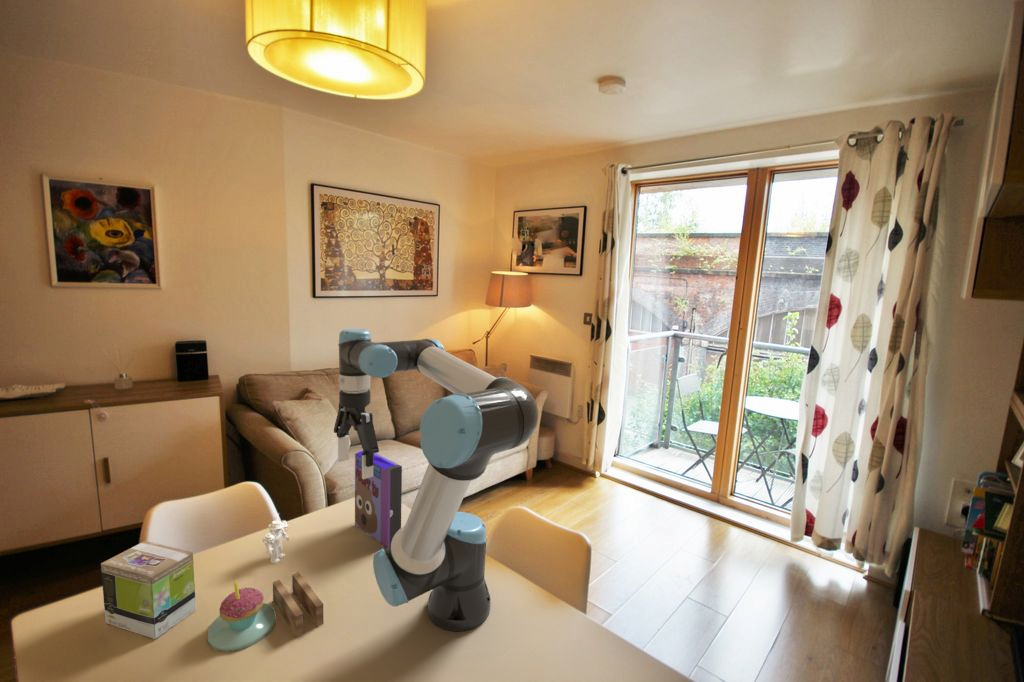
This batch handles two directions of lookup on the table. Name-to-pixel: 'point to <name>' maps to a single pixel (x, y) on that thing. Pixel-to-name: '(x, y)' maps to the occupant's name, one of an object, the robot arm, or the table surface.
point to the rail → (288, 608)
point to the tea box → (148, 588)
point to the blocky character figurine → (276, 539)
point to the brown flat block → (307, 599)
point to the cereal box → (378, 499)
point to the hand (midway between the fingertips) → (355, 468)
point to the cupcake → (241, 607)
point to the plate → (241, 631)
